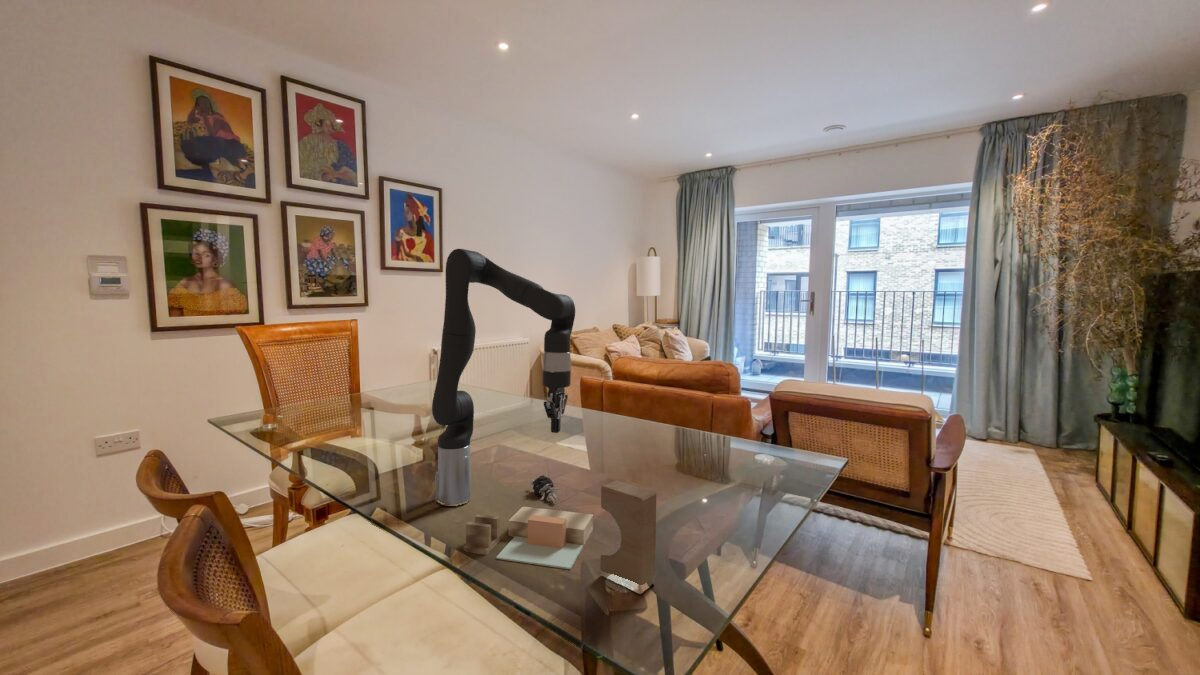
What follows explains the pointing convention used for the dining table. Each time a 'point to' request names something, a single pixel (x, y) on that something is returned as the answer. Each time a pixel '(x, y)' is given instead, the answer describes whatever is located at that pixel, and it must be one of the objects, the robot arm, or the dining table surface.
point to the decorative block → (631, 531)
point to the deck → (576, 523)
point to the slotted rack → (482, 534)
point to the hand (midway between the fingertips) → (555, 432)
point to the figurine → (545, 488)
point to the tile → (547, 531)
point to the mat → (540, 553)
